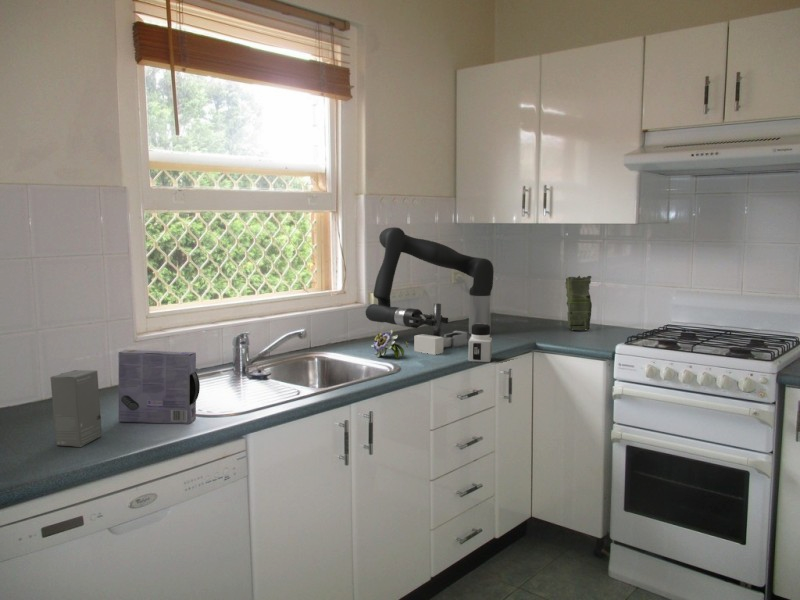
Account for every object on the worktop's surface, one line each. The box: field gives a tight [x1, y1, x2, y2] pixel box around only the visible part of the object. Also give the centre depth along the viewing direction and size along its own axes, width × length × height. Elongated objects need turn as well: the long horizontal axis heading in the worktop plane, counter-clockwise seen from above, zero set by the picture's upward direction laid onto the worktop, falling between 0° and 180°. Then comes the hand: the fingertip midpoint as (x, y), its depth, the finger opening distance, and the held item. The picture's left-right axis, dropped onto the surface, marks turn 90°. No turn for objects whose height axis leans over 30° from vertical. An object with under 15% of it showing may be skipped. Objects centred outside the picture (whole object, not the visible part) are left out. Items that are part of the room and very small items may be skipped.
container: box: [467, 323, 493, 363], centre depth 239 cm, size 8×8×13 cm
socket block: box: [413, 333, 444, 356], centre depth 252 cm, size 5×10×6 cm, turn 49°
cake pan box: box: [117, 349, 201, 425], centre depth 165 cm, size 19×5×18 cm, turn 88°
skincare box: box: [50, 369, 103, 448], centre depth 150 cm, size 8×7×16 cm
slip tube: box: [432, 302, 453, 349], centre depth 256 cm, size 16×3×17 cm, turn 139°
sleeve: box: [443, 330, 469, 349], centre depth 265 cm, size 9×5×5 cm, turn 139°
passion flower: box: [370, 329, 409, 360], centre depth 243 cm, size 11×11×12 cm
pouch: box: [565, 275, 593, 331], centre depth 303 cm, size 11×12×25 cm
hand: (441, 321), depth 253 cm, fingers open, 8 cm apart
